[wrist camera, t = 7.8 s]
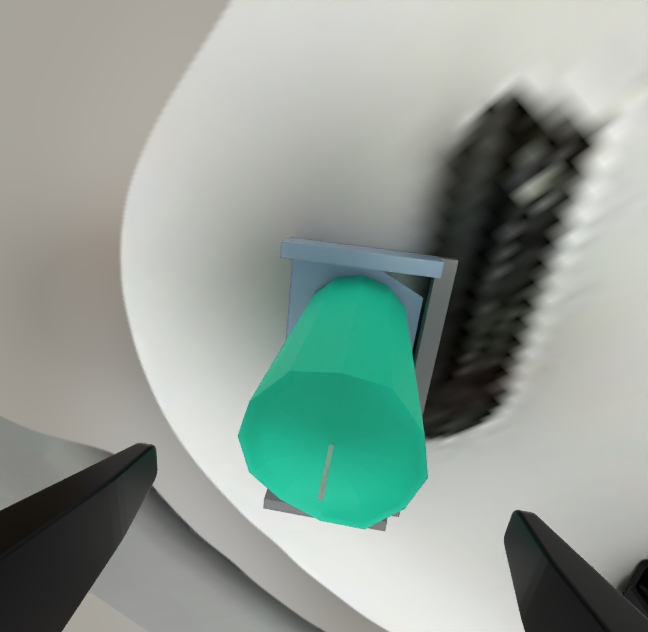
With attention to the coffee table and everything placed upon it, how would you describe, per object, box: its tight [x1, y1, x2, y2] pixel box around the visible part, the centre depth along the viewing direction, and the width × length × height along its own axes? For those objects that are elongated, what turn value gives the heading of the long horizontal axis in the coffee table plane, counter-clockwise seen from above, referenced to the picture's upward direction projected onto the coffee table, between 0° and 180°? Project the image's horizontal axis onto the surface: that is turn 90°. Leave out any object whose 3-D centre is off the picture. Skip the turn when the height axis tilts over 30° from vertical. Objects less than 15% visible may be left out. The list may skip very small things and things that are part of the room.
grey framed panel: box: [263, 237, 458, 531], centre depth 21 cm, size 9×17×2 cm, turn 174°
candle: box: [238, 276, 428, 529], centre depth 15 cm, size 6×6×12 cm
